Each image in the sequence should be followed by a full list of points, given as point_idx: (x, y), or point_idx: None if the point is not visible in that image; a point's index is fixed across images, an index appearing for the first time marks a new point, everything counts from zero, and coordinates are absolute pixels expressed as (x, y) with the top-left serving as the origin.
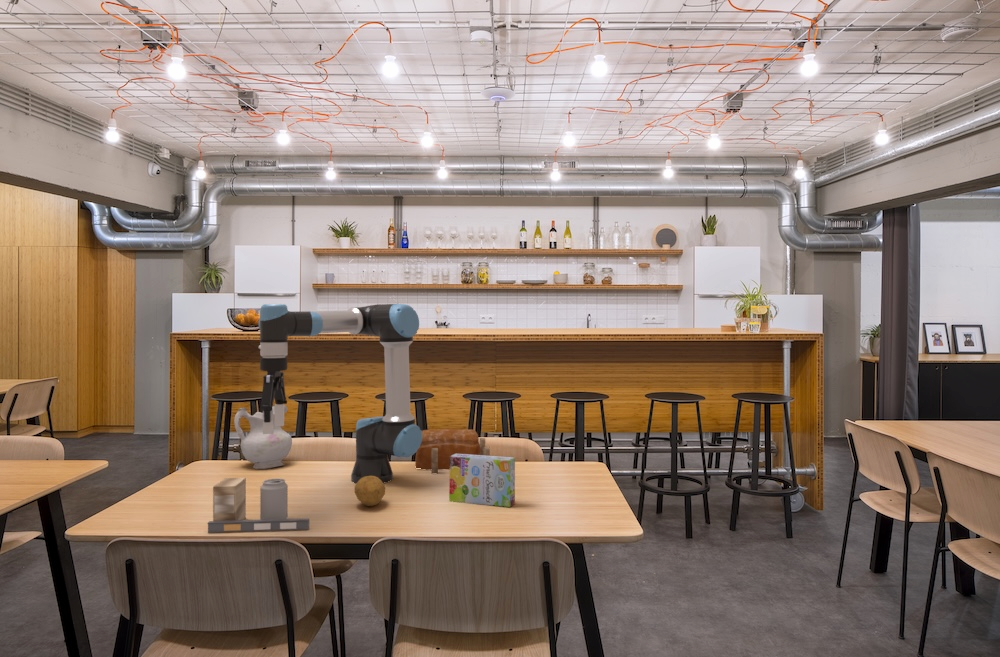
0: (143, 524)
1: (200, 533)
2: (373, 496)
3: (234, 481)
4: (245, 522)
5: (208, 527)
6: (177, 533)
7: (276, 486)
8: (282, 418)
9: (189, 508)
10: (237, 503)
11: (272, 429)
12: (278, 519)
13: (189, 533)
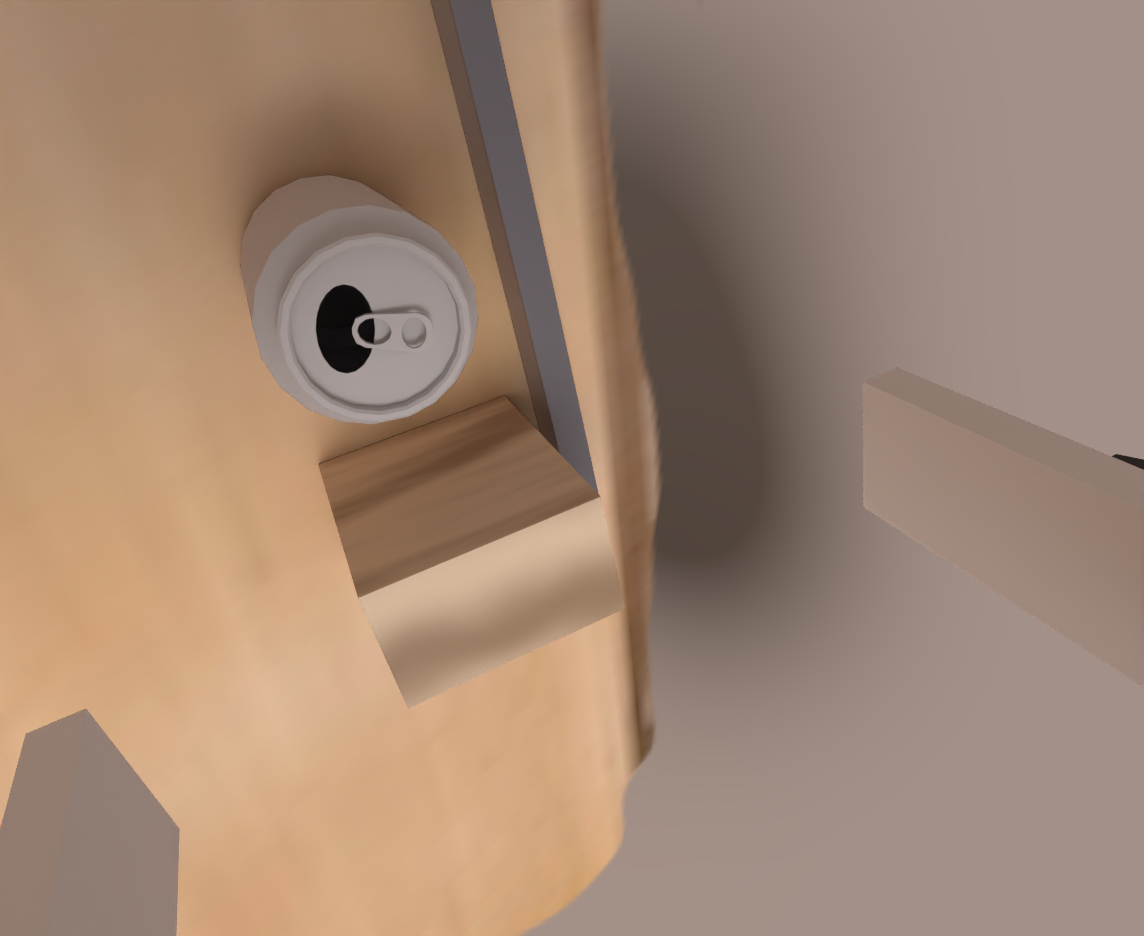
0: (508, 781)
1: None
2: None
3: (480, 590)
4: (560, 327)
5: None
6: None
7: (445, 259)
8: (77, 869)
9: (241, 826)
10: (511, 459)
11: (953, 392)
12: (493, 150)
13: None
